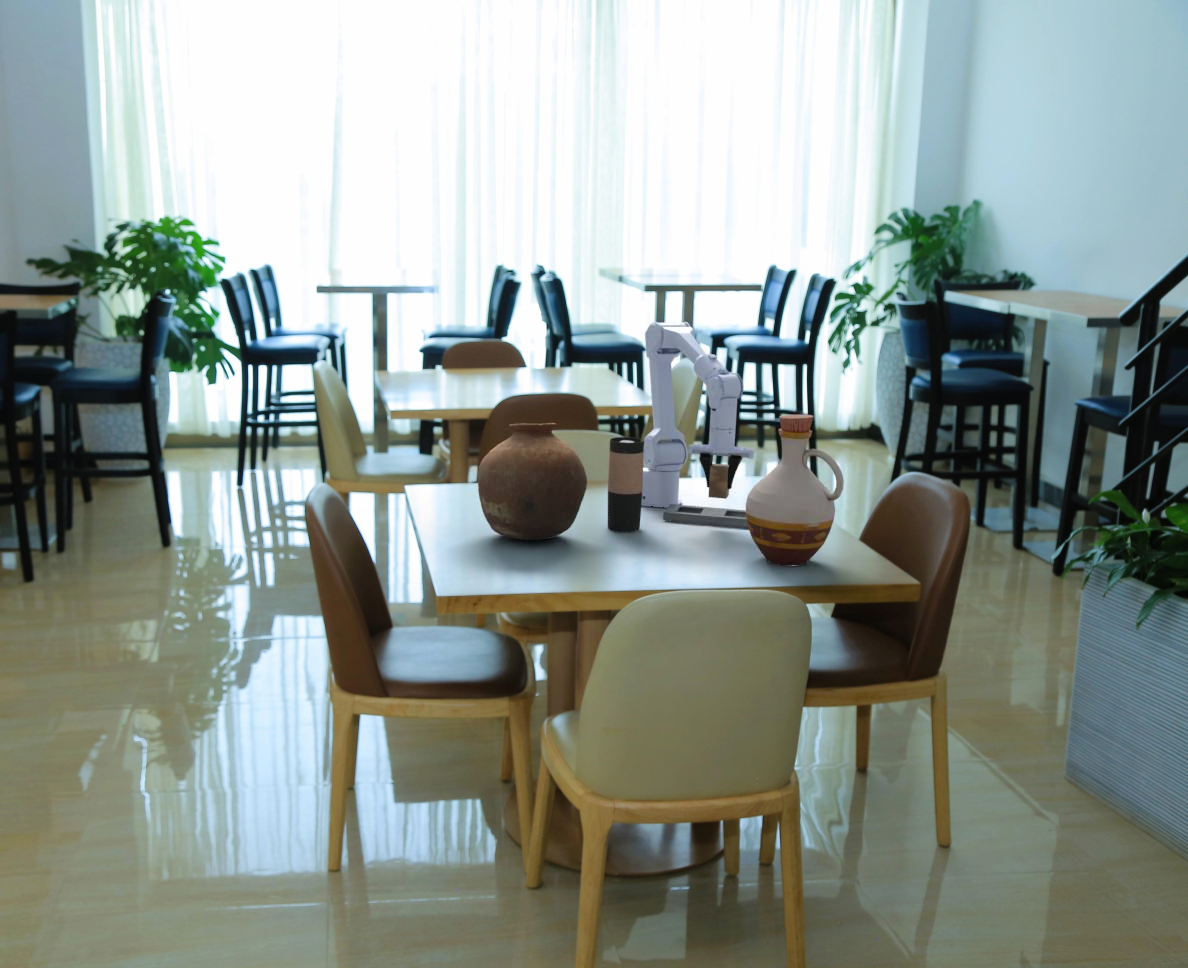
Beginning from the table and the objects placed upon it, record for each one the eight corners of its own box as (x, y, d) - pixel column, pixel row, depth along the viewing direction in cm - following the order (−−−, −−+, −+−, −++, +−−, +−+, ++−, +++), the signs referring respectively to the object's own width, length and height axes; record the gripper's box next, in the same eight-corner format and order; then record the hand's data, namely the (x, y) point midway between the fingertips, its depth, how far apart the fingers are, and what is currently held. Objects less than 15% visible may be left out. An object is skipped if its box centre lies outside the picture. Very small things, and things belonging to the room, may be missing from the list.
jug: (851, 560, 244) (862, 415, 238) (821, 579, 229) (832, 426, 223) (762, 545, 254) (771, 405, 247) (728, 563, 239) (736, 415, 232)
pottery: (538, 557, 238) (541, 434, 233) (454, 537, 251) (455, 420, 246) (606, 537, 256) (610, 422, 251) (524, 519, 269) (526, 410, 264)
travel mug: (600, 529, 262) (603, 440, 258) (615, 522, 269) (619, 435, 265) (631, 534, 259) (635, 444, 255) (646, 527, 266) (650, 439, 262)
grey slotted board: (663, 520, 272) (663, 512, 272) (669, 512, 281) (670, 504, 281) (759, 529, 268) (759, 520, 267) (763, 520, 276) (763, 511, 276)
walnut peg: (708, 497, 267) (710, 466, 265) (711, 493, 270) (712, 463, 269) (726, 498, 266) (727, 468, 264) (728, 495, 269) (730, 464, 268)
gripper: (687, 428, 263) (684, 488, 266) (752, 432, 259) (749, 493, 262) (692, 423, 270) (689, 482, 272) (756, 428, 266) (753, 487, 269)
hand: (719, 487), depth 268 cm, fingers closed on walnut peg, 4 cm apart
